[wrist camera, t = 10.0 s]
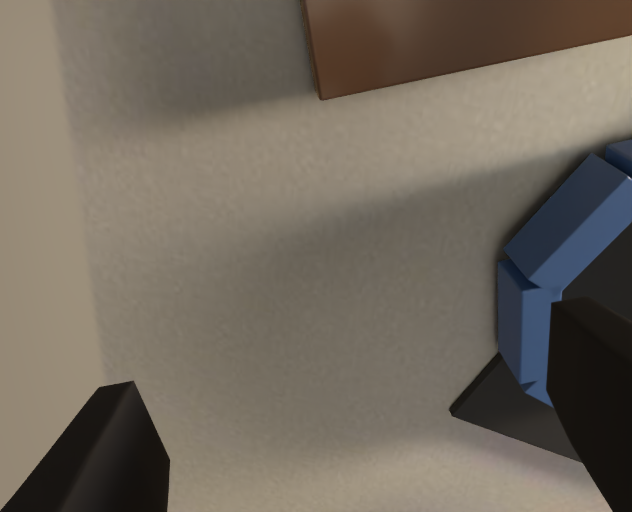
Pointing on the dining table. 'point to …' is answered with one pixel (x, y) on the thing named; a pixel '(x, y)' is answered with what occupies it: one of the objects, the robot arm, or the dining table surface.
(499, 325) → the ring
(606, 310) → the robot arm
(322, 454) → the dining table surface
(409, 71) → the platform
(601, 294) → the mat
